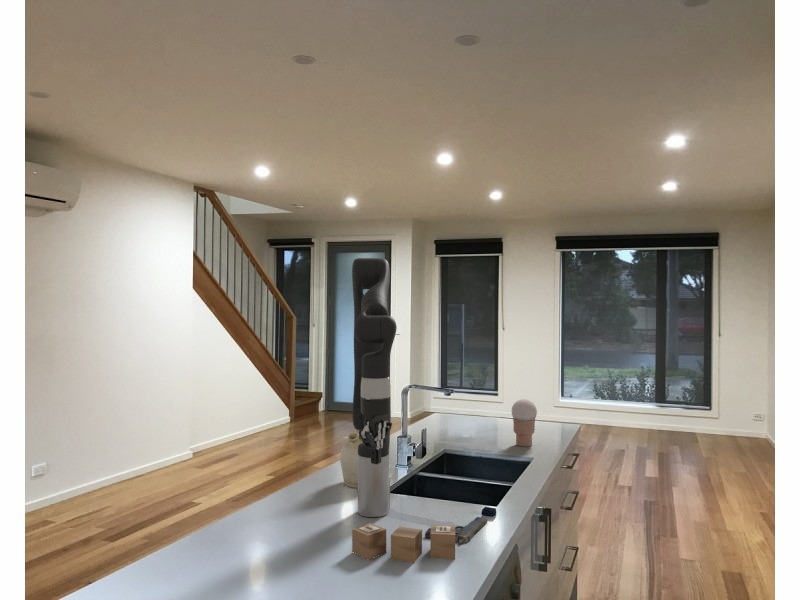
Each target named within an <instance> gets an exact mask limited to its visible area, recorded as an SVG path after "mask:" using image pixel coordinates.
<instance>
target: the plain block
mask: <svg viewBox="0 0 800 600" xmlns="http://www.w3.org/2000/svg"><path fill="white" fill-rule="evenodd" d="M422 553H423V529H421V528H415V527H414V528H413V527H406V526H400V525H399V526H398V527H397V528H396V529H395V530H394V531H393V532H392V533H391V534H390V560H392V559H394V560H393V561H398V560H399V561H400V562H405V561H406V563H411V562H412V564H415V563H416V562H417V560H418V559H419V558H420V556H422Z"/></svg>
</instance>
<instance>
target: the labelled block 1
mask: <svg viewBox="0 0 800 600" xmlns="http://www.w3.org/2000/svg"><path fill="white" fill-rule="evenodd" d="M351 532H352V533H351V534H352V535H351V548H352V549H351V553H352V552H354V553H356V554H358V555H360V556H362V557H364V558H363V559H365V558H367V559H370V560H372V559H374V558H373V557H375V558H377V557H379V556H378V555H380V556H382V555H385V554H387V528H384V527H382V526H379V525H376V524H373V523H371V522H369V523H366V524H362V525H360V526H357V527H354V528H352V529H351ZM354 553H353V554H354ZM384 553H385V554H384ZM356 554H355V555H356ZM381 554H382V555H381ZM358 555H357V556H358ZM360 556H359V557H360ZM376 556H377V557H376ZM362 557H361V558H362ZM371 558H372V559H371ZM367 559H366V560H367Z"/></svg>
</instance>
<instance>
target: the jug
mask: <svg viewBox="0 0 800 600" xmlns="http://www.w3.org/2000/svg"><path fill="white" fill-rule="evenodd" d="M352 427H353V429H354V430H355V431H356V432H355V431H354V432H351V433H349V435H348V436H347V439H346V441H344V443H343V445H342V447H341V449H340V453H339V454H340V456H339V461H340V466H341V472H342V478H343V482H344V485H345V486H347V487H348V486H349V488H354V489H358V446H359V444H361V443H363V442H362V440H361V438H360V436H359V431H360V430H357V429H355V427H354V425H353V424H352Z"/></svg>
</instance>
